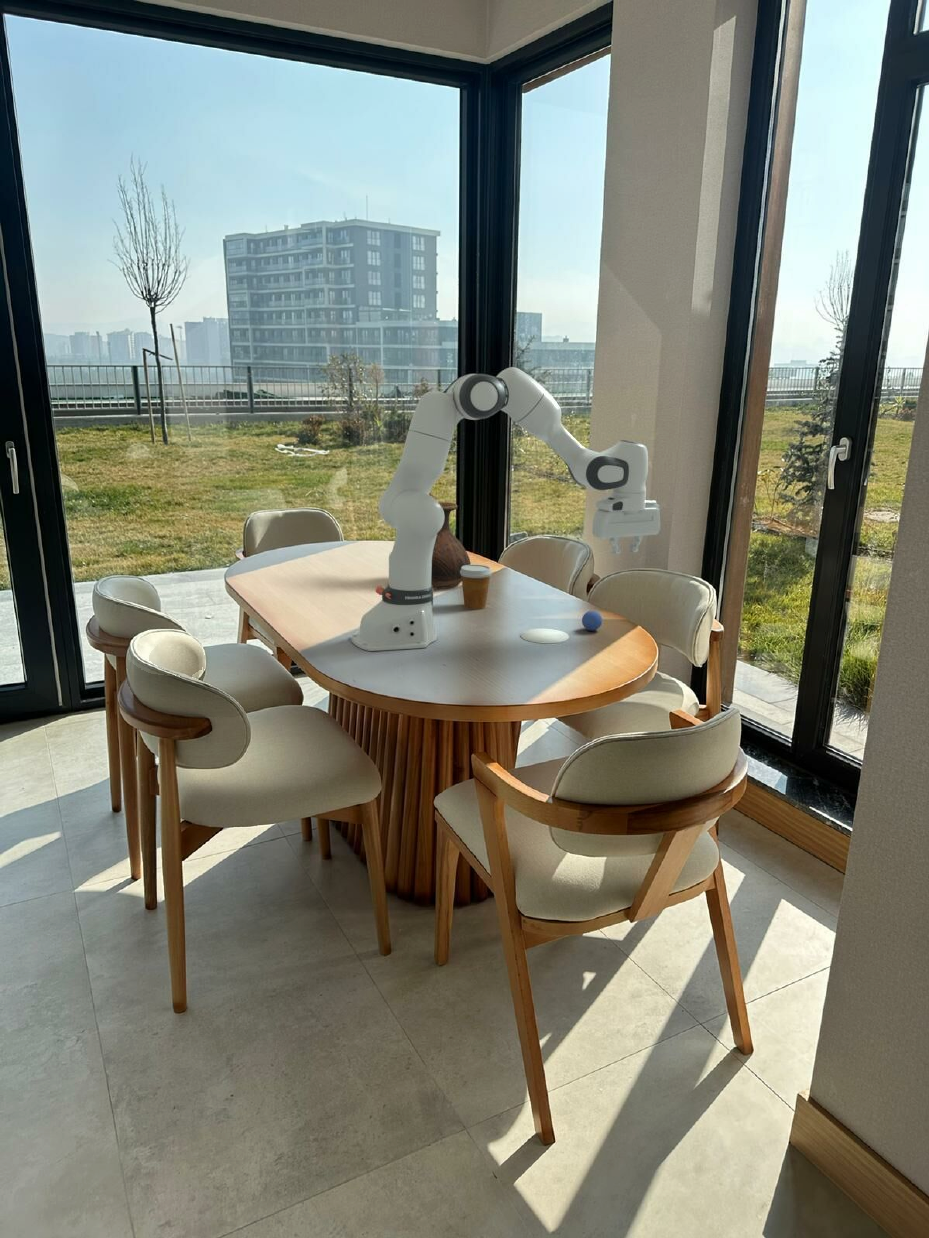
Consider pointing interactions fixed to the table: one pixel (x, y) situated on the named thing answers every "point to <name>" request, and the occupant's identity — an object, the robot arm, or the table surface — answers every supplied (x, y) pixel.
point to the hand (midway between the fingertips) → (625, 552)
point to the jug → (447, 554)
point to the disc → (544, 636)
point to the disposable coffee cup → (475, 585)
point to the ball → (592, 620)
